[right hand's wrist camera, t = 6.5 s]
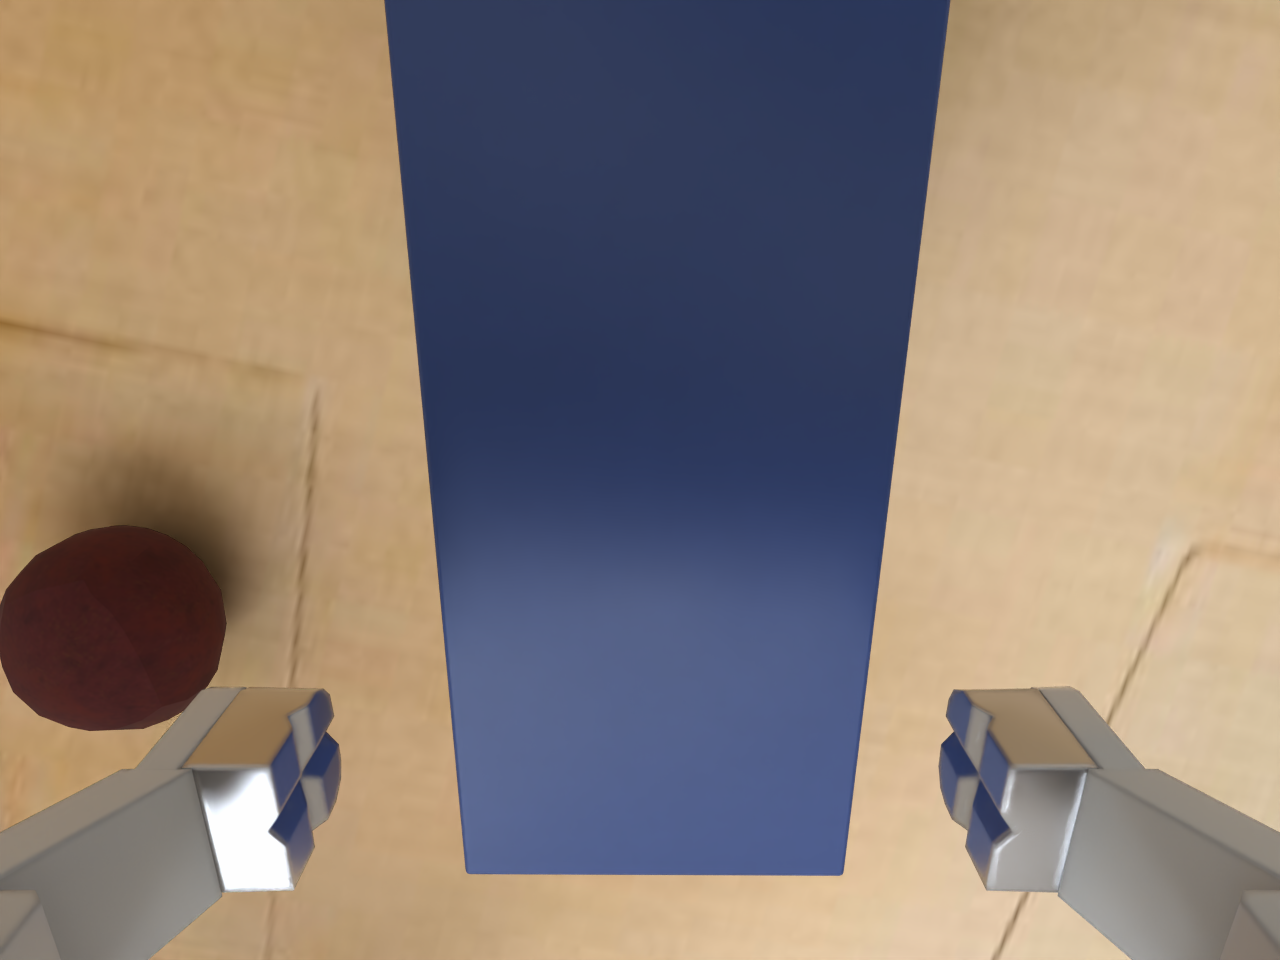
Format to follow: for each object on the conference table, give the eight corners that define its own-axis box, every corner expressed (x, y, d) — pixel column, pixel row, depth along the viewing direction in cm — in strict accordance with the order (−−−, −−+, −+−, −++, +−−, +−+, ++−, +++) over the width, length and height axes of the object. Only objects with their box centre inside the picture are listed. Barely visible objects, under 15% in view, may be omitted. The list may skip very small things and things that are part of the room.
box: (763, 596, 23) (844, 877, 14) (534, 595, 23) (464, 876, 14) (848, -691, 14) (1233, -2276, 5) (474, -692, 14) (167, -2281, 5)
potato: (206, 477, 32) (94, 558, 25) (290, 642, 35) (208, 754, 28) (39, 525, 33) (-113, 615, 26) (133, 682, 35) (17, 801, 29)
